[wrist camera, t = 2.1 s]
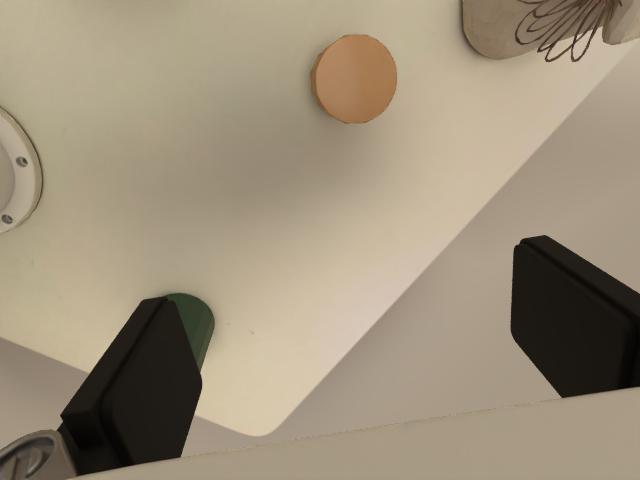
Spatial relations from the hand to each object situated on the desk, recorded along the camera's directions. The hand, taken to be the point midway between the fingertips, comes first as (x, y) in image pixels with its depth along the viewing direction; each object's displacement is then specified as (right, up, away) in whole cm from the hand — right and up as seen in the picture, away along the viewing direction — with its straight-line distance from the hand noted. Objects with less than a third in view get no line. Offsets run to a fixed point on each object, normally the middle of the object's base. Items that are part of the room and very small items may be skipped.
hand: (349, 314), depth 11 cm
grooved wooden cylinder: (+1, +15, +21) cm, 26 cm away
